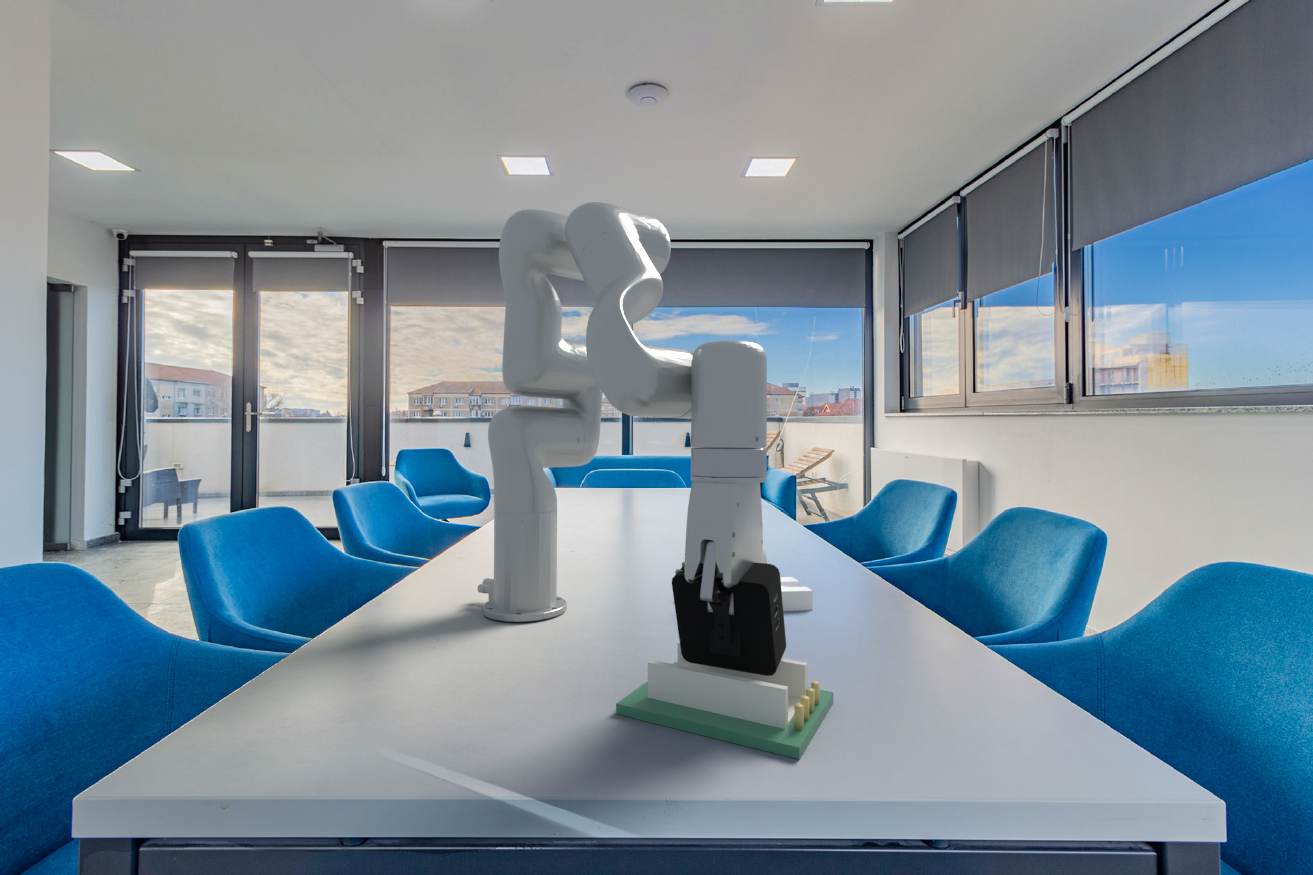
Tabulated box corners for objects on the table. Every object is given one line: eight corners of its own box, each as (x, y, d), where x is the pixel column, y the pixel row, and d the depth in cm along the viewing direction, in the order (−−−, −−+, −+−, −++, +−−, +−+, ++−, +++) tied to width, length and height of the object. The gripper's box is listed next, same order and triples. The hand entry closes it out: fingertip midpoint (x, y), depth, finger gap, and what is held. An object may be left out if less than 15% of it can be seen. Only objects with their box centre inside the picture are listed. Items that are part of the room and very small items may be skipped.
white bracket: (791, 598, 106) (792, 534, 106) (812, 614, 96) (812, 543, 96) (688, 601, 104) (688, 535, 104) (698, 617, 94) (698, 545, 94)
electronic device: (776, 678, 60) (767, 584, 57) (682, 661, 64) (670, 574, 62) (787, 652, 63) (779, 564, 61) (697, 639, 68) (686, 556, 65)
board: (616, 713, 60) (616, 667, 60) (675, 670, 72) (675, 631, 72) (799, 759, 52) (799, 705, 52) (833, 701, 63) (833, 657, 63)
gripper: (722, 463, 70) (721, 626, 70) (659, 468, 57) (659, 669, 57) (787, 465, 67) (786, 636, 67) (736, 470, 53) (736, 684, 53)
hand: (727, 650), depth 62 cm, fingers closed
